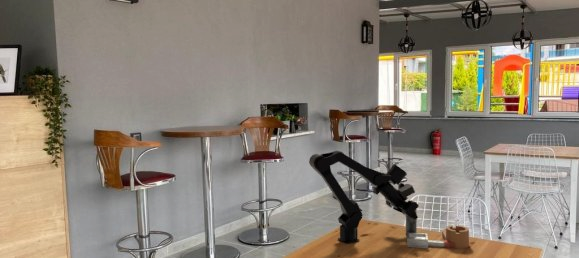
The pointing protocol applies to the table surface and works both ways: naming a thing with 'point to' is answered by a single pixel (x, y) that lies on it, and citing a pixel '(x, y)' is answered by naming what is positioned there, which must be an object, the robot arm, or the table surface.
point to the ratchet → (426, 241)
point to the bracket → (457, 235)
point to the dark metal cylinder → (411, 224)
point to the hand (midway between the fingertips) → (414, 216)
